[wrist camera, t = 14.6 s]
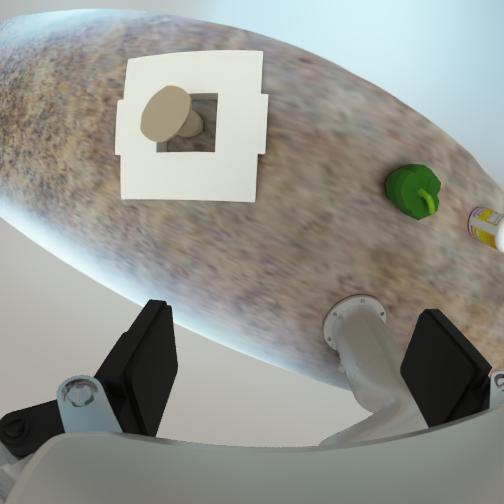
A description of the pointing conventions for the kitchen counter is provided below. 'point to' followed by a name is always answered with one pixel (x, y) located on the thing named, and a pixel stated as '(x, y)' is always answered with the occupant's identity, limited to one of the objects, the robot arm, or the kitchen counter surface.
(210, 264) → the kitchen counter surface
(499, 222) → the supplement bottle
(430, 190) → the bell pepper
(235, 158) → the socket block
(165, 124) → the handle
